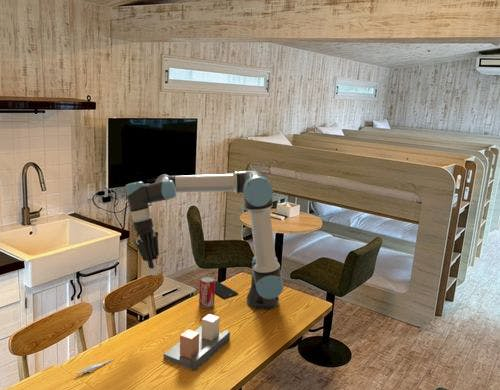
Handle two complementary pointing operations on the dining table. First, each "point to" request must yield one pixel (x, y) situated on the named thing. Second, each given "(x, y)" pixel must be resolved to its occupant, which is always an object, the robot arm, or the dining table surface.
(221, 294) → the cell phone
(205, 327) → the key cream
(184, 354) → the reddish pink block
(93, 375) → the dining table surface
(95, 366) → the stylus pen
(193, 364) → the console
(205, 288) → the soda can
